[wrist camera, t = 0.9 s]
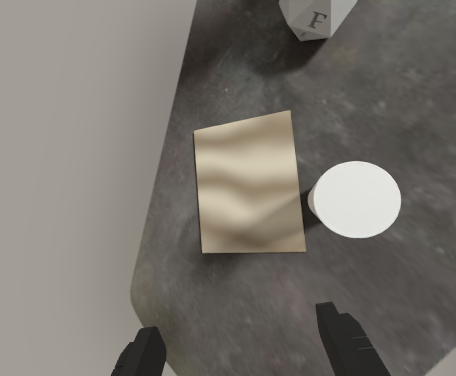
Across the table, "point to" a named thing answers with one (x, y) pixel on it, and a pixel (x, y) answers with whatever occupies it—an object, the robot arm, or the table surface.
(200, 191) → the birch board
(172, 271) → the table surface
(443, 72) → the table surface
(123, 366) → the robot arm
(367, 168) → the tube
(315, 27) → the die
